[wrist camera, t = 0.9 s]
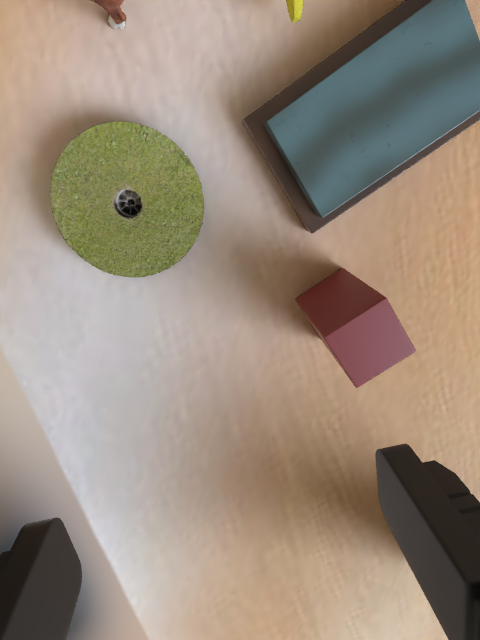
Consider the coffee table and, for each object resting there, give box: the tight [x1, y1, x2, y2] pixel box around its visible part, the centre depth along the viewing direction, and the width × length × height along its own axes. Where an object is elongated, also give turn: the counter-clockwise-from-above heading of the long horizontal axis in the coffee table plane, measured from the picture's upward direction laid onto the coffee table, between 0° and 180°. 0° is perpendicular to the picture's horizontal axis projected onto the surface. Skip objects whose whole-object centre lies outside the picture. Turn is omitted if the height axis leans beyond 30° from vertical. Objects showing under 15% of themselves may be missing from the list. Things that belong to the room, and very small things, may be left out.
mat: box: [50, 122, 204, 277], centre depth 31 cm, size 11×11×2 cm
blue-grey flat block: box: [242, 0, 480, 233], centre depth 30 cm, size 10×17×3 cm, turn 124°
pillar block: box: [295, 268, 416, 388], centre depth 33 cm, size 5×5×9 cm
